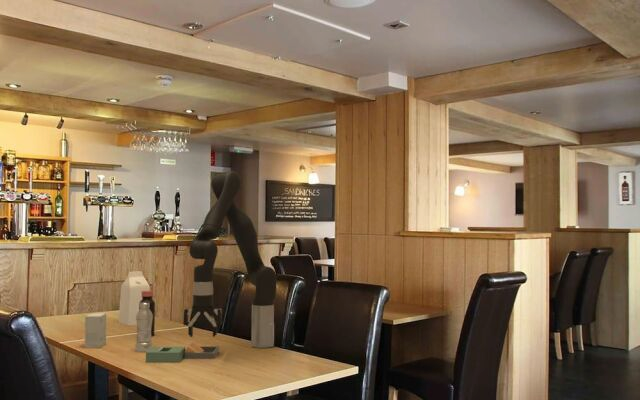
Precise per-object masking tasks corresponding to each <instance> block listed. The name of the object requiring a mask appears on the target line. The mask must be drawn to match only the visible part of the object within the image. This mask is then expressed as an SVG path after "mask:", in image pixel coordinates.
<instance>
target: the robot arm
mask: <svg viewBox="0 0 640 400" xmlns="http://www.w3.org/2000/svg"><path fill="white" fill-rule="evenodd" d="M210 182H211V184H210V185H211V189H212V192H213V193H214V195H215V198H216V199H217V200H216V202H215V203H214V204H213V206H212V207H211V208H210V210H209V211H208V212H207V214H206V216H205V218H204V220H203V223H202V226H201V228H200V230H199V231H198V232H197V234H196V235H195V237H194V238H193V239H192V241H191V242H190V244H189V254H190V257H191V258H192V259H195V260H204V261H203V264H200V265H199V264H198V265H196V266H195V267H194V269H193V287H192V308H185V309H184V311H183V322H182V323H183V325H184V326H187V334H188V336H189V337H190V338H191V337H192V338H193V337H194V336H193V334H194V326H193V324H194V323H195V322H196V321H198V322H199V321H209V323H211V325H212V338H214V337H216V336H217V334H218V326H221V325H222V324H223V316H222V313H223V310H222V308H220V307H219V308H214V284H213V278H214V277H213V273H214V267H215V263H216V259H217V256H218V252H219V251H218V250H219V249H218V245H217V244H216V242H215V241H213V240H216V239H217V238H218V237H219V235H220V232H221V229H222V226H223V224H224V221H225V218H226V221H227V223H228V225H229V229H230V230H231V233H232V236H233V238H234V240H235V243H236V245H237V246H238V247H237V248H238V250H239V252H240V254H241V256H242V259H243V262H244V264H245V268H246V272H247V275H248V278H249V281H250V283H251V284H252V285H253V286H254V287H255V294H254V296H253V297H252V298H251V339H250V340H251V347H253V348H259V349H265V348H273V347H274V346H275V322H274V321H275V319H274V318H275V316H274V315H275V299H276V296H277V273H276V272H275V270H274V269H273V268H272V267H271V266H266V265H265V264H264V262H263V260H262V258H261V255H260V253H259V238H258V234H257V231H256V228H255V225H254V223H253V222H252V220H251V218H250V217H249V216H248V215H247V214H246V213H245V211H243V210H242V209H241V208H240V207H239V206H238V205H237V204H236V202H235V199H236V197H237V195H238V193H239V191H240V189H241V187H242V179H241V177H240V175H239V174H238V172H236V171H234V170H230V171H226V172H223V173H220V174H216V175H214V176H212V178H211V180H210ZM190 314H192V315H193V318H192V319H191V320H190V322H189V315H190ZM213 314H215V315H216V316H217V321H216V320H215V317H214V316H213Z"/></svg>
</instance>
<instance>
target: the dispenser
mask: <svg viewBox="0 0 640 400" xmlns="http://www.w3.org/2000/svg"><path fill="white" fill-rule="evenodd" d="M185 350H186V346H163V345H162V346H153V347H152V348H151V349H150V350H148V351H147V352H145V363H153V364H154V363H161V364H163V363H164V364H165V363H181V362H182V360H183V359H184V353H185V352H186V351H185Z"/></svg>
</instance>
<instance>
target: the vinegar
mask: <svg viewBox="0 0 640 400" xmlns="http://www.w3.org/2000/svg"><path fill="white" fill-rule="evenodd" d="M153 297H154V291H153V290H150V291H142V300H141V301H140V302H139V310H140V303H141V302H149V306H150V307H149V310H150V311H151V312H152V315H153V318H152V326H151V337H153V336H155V323H156V321H155V318H156V317H155V314H156V310H155V309H156V308H155V307H156V302H155V301H154V299H153Z"/></svg>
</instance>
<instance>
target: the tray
mask: <svg viewBox="0 0 640 400" xmlns="http://www.w3.org/2000/svg"><path fill="white" fill-rule="evenodd" d="M198 346H199V345H198ZM199 347H201V348H202V349H203V350H204V351H203V352H202V353H187V352H186V351H185V353H184V358H183V359H184V360H186V359H187V360H188V359H189V360H193V359H194V360H196V359H197V360H199V359H200V360H203V359H205V360H207V359H208V360H214V359H215V358H216V357H217V355H218V354H219V352H220V346H215V345H213V346H205V345H204V346H203V345H200V346H199Z"/></svg>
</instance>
